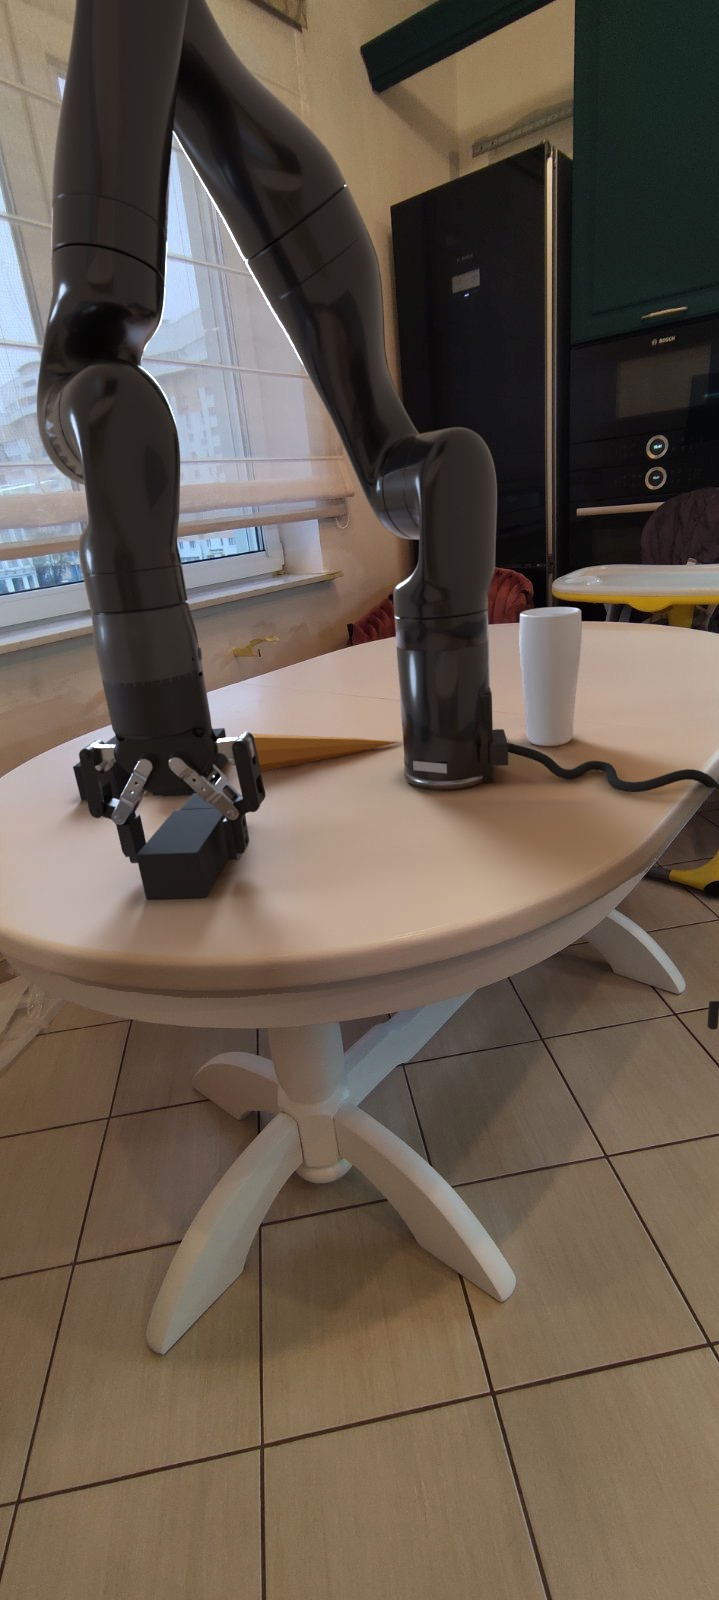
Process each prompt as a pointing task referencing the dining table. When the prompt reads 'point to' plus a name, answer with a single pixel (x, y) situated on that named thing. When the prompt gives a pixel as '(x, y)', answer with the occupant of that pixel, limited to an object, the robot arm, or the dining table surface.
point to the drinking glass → (550, 672)
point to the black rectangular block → (184, 853)
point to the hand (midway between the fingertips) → (188, 857)
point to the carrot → (307, 748)
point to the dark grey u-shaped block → (122, 777)
